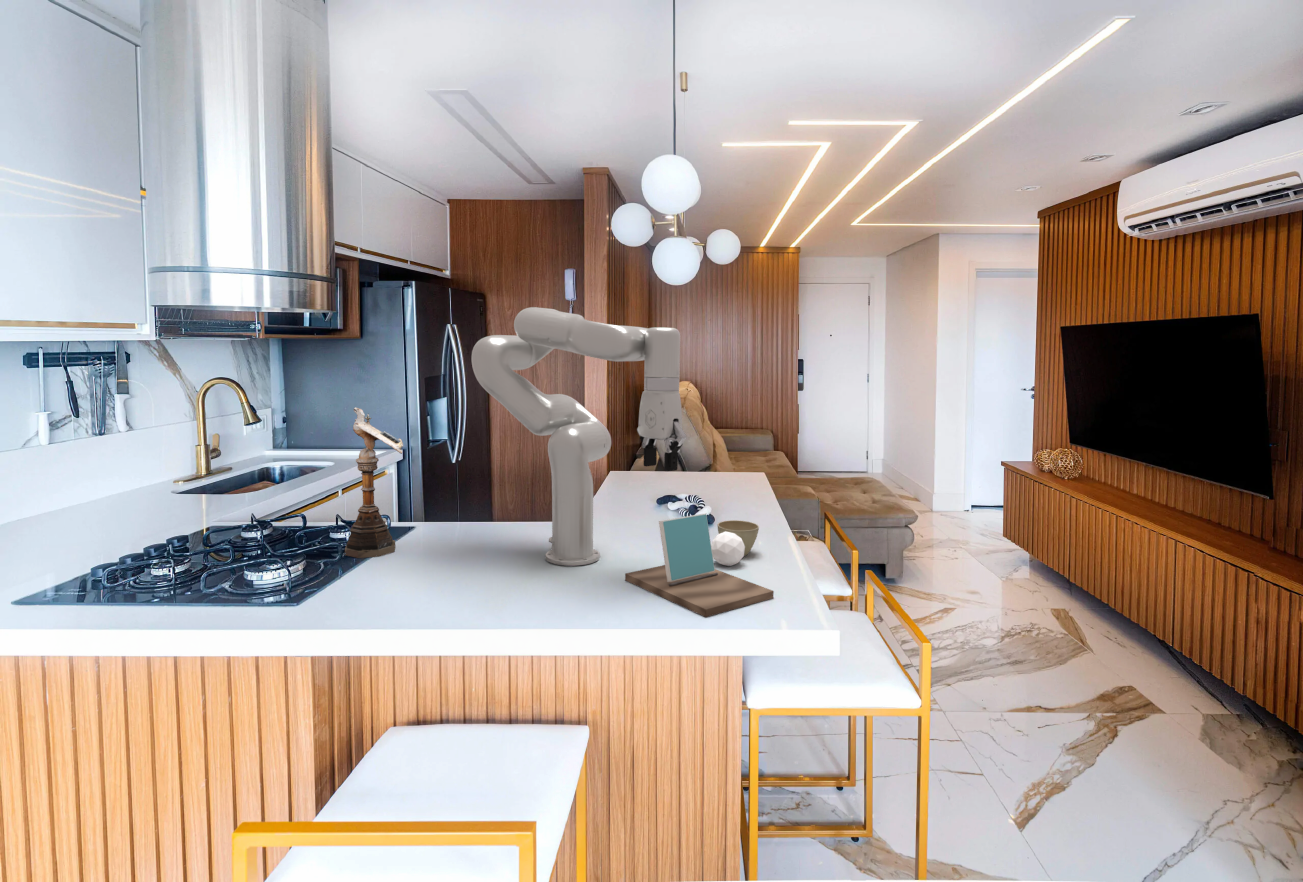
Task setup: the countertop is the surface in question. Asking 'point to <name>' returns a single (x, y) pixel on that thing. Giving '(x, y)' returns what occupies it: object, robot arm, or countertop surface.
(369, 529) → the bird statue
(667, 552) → the tile
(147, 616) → the countertop surface
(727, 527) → the tan round bowl
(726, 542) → the ball
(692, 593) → the board
